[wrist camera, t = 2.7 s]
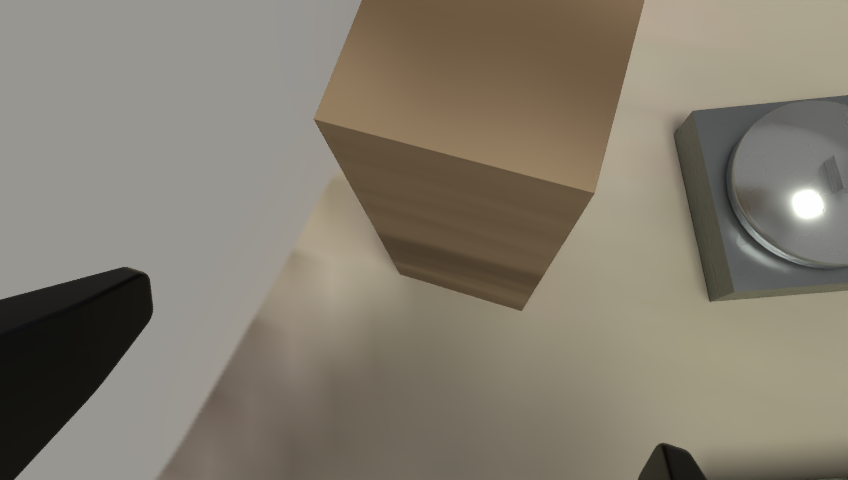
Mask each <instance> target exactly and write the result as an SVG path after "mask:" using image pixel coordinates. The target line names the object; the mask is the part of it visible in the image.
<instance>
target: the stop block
mask: <svg viewBox="0 0 848 480" xmlns="http://www.w3.org/2000/svg"><path fill="white" fill-rule="evenodd" d="M643 4H644V0H362V2H361V4H360V7H359V9H358V12H357V14H356V17H355V19H354V21H353V24H352V26H351V29H350V31H349V34H348V36H347V39H346V41H345V44H344V46H343V49H342V51H341V53H340V56H339V58H338V61H337V64H336V66H335V68H334V71H333V73H332V76H331V78H330V81H329V83H328V86H327V88H326V91H325V93H324V96H323V98H322V100H321V103H320V105H319V108H318V110H317V113H316V115H315V118H314V120H315V122H316V124H317V125H318V128H319V129H320V131H321V133H322V135H323V136H324V138H325V140H326V142H327V144H328V145H329V147H330V149H331V151H332V153H333V154H334V156H335V158H336V160H337V162H338V163H339V165H340V167H341V169H342V171H343V172H344V174H345V176H346V178H347V180H348V181H349V183H350V185H351V187H352V189H353V190H354V192H355V194H356V196H357V198H358V199H359V201H360V203H361V205H362V207H363V208H364V210H365V212H366V214H367V215H368V217H369V219H370V221H371V223H372V224H373V226H374V228H375V230H376V232H377V233H378V235H379V237H380V239H381V241H382V242H383V244H384V246H385V248H386V250H387V251H388V253H389V255H390V257H391V259H392V260H393V262H394V264H395V266H396V268H397V269H398V271H399V273H400V274H401V275H404V276H408V277H411V278H414V279H418V280H421V281H424V282H428V283H431V284H434V285H437V286H441V287H444V288H447V289H451V290H454V291H457V292H461V293H464V294H467V295H471V296H474V297H477V298H480V299H484V300H487V301H490V302H494V303H497V304H500V305H504V306H507V307H510V308H513V309H517V310H520V311H522V309H523V307H524V306H525V304H526V303H527V301H528V299H529V298H530V296H531V295H532V293H533V291H534V290H535V288H536V287H537V285H538V283H539V282H540V280H541V279H542V277H543V275H544V274H545V272H546V270H547V269H548V267H549V266H550V264H551V262H552V261H553V259H554V258H555V256H556V254H557V253H558V251H559V250H560V248H561V246H562V245H563V243H564V242H565V240H566V238H567V237H568V235H569V233H570V232H571V230H572V229H573V227H574V225H575V224H576V222H577V221H578V219H579V217H580V216H581V214H582V213H583V211H584V209H585V208H586V206H587V205H588V203H589V201H590V200H591V198H592V196H593V195H594V193H595V190H596V186H597V182H598V178H599V174H600V170H601V166H602V162H603V159H604V155H605V151H606V147H607V143H608V139H609V135H610V132H611V128H612V124H613V120H614V116H615V112H616V108H617V104H618V101H619V97H620V93H621V89H622V85H623V81H624V77H625V74H626V70H627V66H628V62H629V58H630V54H631V50H632V46H633V43H634V39H635V35H636V31H637V27H638V23H639V19H640V16H641V12H642V8H643Z"/></svg>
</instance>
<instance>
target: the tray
mask: <svg viewBox="0 0 848 480" xmlns="http://www.w3.org/2000/svg"><path fill="white" fill-rule="evenodd" d="M812 480H848V477H843V478H827V479H812Z"/></svg>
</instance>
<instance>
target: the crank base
mask: <svg viewBox="0 0 848 480" xmlns="http://www.w3.org/2000/svg"><path fill="white" fill-rule="evenodd" d="M816 100H817V101H830V102H835V103H841V104H844V105H848V95H846V96H836V97H826V98H816V99H806V100H797V101H787V102H777V103H767V104H757V105H747V106H737V107H727V108H717V109H707V110H697V111H692V113H691V114H690V115H689V116H688V118H687V119H686V120H685V122H684V123H683V124H682V125H681V127H680V128H679V129H678V130H677V132H676V133H675V134H674V137H675V141H676V146H677V151H678V155H679V160H680V164H681V169H682V174H683V178H684V183H685V187H686V192H687V197H688V201H689V206H690V210H691V215H692V220H693V224H694V229H695V234H696V238H697V243H698V247H699V252H700V257H701V261H702V266H703V270H704V275H705V280H706V284H707V289H708V293H709V298H710V302H712V301H724V300H736V299H748V298H760V297H773V296H785V295H797V294H809V293H821V292H833V291H846V290H848V267H844V268H838V269H822V268H812V267H808V266H803V265H799V264H796V263H794V262H791V261H788V260H786V259H784V258H782V257H779V256H777V255H776V254H774V253H773V252H771V251H769V250H768V249H766V248H765V247H764V246H762V245H761V244H760V243H758V242H757V241H756V240H755V239H754V238H753V237H752V236H751V235H750V234H749V233H748V232H747V230H746V229H745V228H744V227H743V225H742V224H741V222H740V221H739V219H738V218H737V216H736V214H735V212H734V210H733V208H732V206H731V203H730V200H729V196H728V192H727V186H726V172H727V165H728V161H729V158H730V155H731V153H732V151H733V148H734V147H735V145H736V144H737V142H738V141H739V139H740V138H741V137H742V136H743V135H744V134H745V133H746V132H747V131H748V130H749V129H750V128H751V127H752V126H753V125H754V124H755V123H756V122H757V121H758V120H760V119H761V118H762V117H763V116H764V115H766V114H768V113H769V112H771V111H773V110H775V109H777V108H779V107H782V106H784V105H788V104H791V103H795V102H802V101H816Z"/></svg>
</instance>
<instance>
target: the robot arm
mask: <svg viewBox="0 0 848 480" xmlns="http://www.w3.org/2000/svg"><path fill="white" fill-rule="evenodd" d="M152 313H153V302H152V294H151V285H150V279H149V277H148V275H147V274H146V273H144V272H141V271H138V270H135V269H132V268H128V267H122V268H118V269H114V270H110V271H107V272H103V273H99V274H95V275H92V276H88V277H84V278H80V279H77V280H73V281H69V282H65V283H62V284H58V285H54V286H51V287H46V288H43V289H39V290H35V291H31V292H28V293H24V294H20V295H16V296H13V297H9V298H5V299H1V300H0V480H14V479H15V478H16V477H17V476H18V475H19V474H20V473H21V471H23V469H24V468H25V467H26V466H27V465H28V464H29V463H30V462H31V461H32V460H33V459H34V457H35V456H36V455H37V454H38V453H39V452H40V451H41V450H42V449H43V448H44V447H45V446H46V445H47V444H48V442H49V441H50V440H51V439H52V438H53V437H54V436H55V435H56V434H57V433H58V432H59V431H60V430H61V428H62V427H63V426H64V425H65V424H66V423H67V422H68V421H69V420H70V419H71V418H72V416H73V415H74V414H75V413H76V412H77V411H78V410H79V409H80V408H81V407H82V406H83V405H84V403H86V401H87V400H88V399H89V398H90V397H91V396H92V394H94V392H95V391H96V390H97V389H98V388H99V386H100V385H101V384H102V383H103V382H104V380H105V379H106V378H107V376H108V375H109V374H110V373H111V371H112V370H113V368H114V367H115V366H116V365H117V363H118V362H119V361H120V359H121V358H122V357H123V355H124V354H125V353H126V351H127V350H128V349H129V348H130V346H131V345H132V344H133V342H134V341H135V340H136V338H137V337H138V336H139V334H140V333H141V332H142V330H143V329H144V328H145V326H146V325H147V324H148V322H149V321H150V319H151V316H152ZM638 480H707V478H706V477H705V475H704V474H703V472H702V471H701V469H700V468H699V466H698V465H697V463H696V462H695V460H694V459H693V457H692V456H691V454H690V453H689V452H688V451H686V450H684V449H682V448H679V447H676V446H673V445H669V444H666V443H660V444H658V445H657V446H656V448H655V449H654V451H653V452H652V454H651V456H650V458H649V459H648V461H647V463H646V465H645V466H644V468H643V470H642V471H641V473H640V475H639V478H638Z"/></svg>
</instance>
